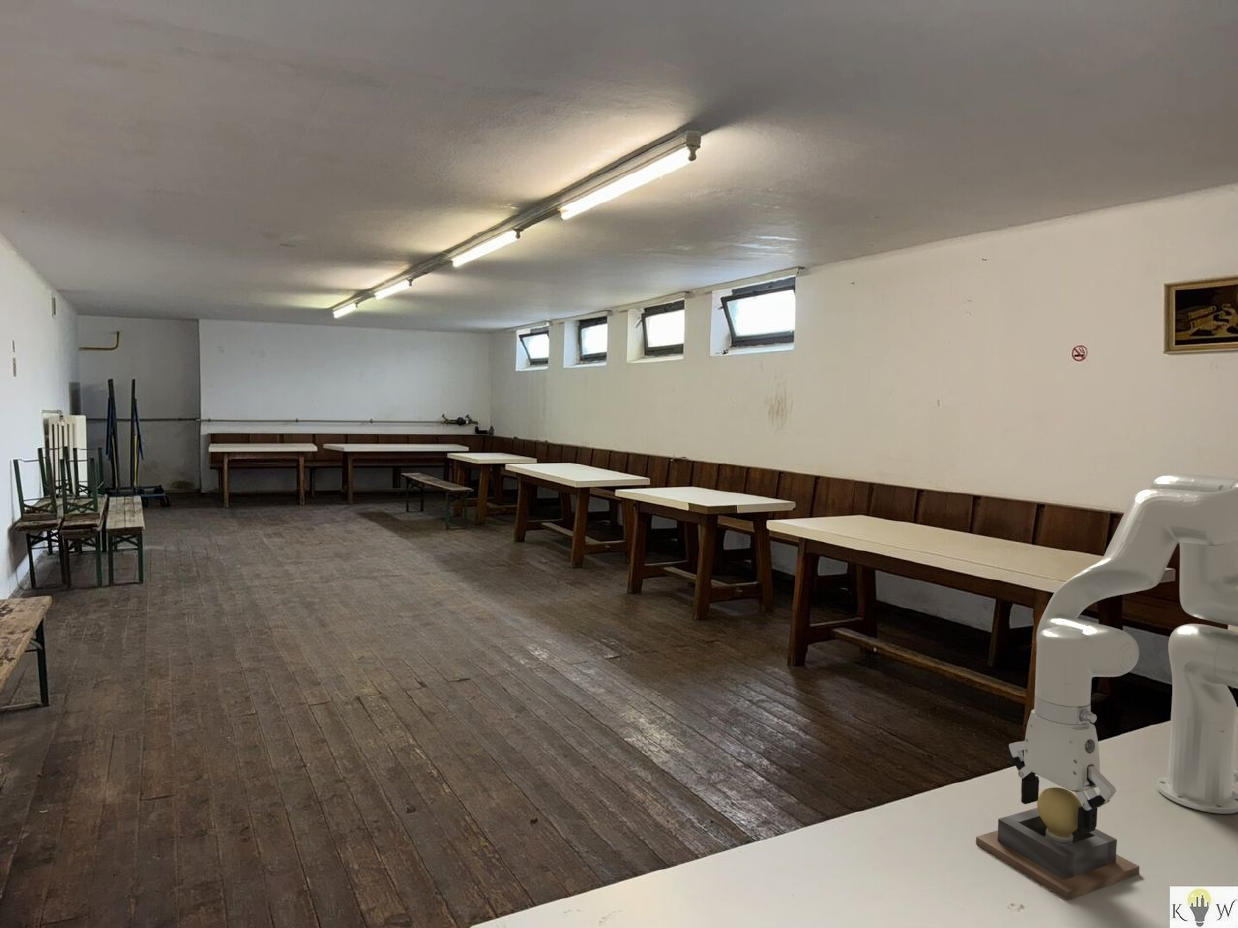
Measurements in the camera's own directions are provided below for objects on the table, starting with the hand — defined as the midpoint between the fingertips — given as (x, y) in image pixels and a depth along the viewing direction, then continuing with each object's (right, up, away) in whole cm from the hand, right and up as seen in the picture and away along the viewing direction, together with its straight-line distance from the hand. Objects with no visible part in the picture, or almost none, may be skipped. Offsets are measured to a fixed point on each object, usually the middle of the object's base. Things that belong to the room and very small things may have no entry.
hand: (1056, 816), depth 123 cm
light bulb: (0, -6, 0) cm, 6 cm away
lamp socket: (0, -7, 0) cm, 7 cm away
